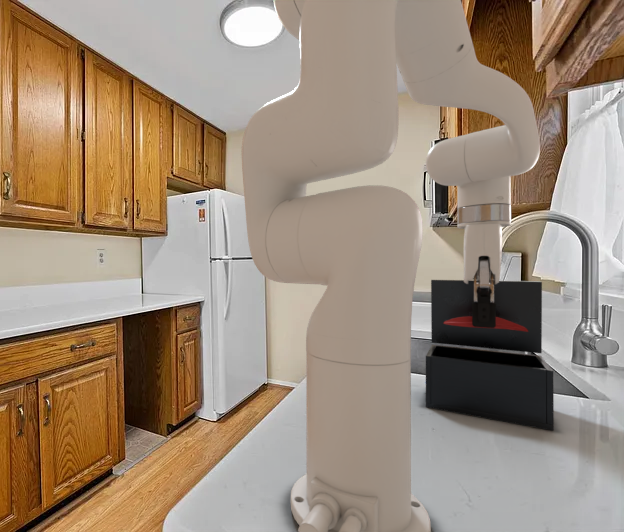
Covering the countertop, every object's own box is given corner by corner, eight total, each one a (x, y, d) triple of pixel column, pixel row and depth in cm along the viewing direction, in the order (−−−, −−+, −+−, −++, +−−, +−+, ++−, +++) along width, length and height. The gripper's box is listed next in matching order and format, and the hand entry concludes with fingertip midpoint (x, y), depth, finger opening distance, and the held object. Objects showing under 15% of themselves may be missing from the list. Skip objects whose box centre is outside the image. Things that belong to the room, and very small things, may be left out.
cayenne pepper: (531, 330, 60) (531, 318, 60) (525, 333, 57) (525, 321, 57) (449, 321, 69) (449, 311, 69) (440, 324, 66) (440, 313, 66)
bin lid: (542, 281, 63) (537, 279, 68) (431, 280, 73) (433, 277, 77) (541, 353, 64) (536, 346, 68) (431, 342, 73) (433, 336, 78)
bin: (553, 430, 54) (553, 370, 54) (425, 407, 64) (425, 356, 64) (541, 406, 64) (541, 355, 64) (431, 389, 73) (431, 344, 73)
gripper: (458, 224, 72) (458, 318, 72) (455, 214, 59) (455, 330, 59) (506, 222, 68) (507, 321, 68) (515, 210, 55) (516, 334, 55)
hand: (483, 324), depth 63 cm, fingers closed on cayenne pepper, 3 cm apart
